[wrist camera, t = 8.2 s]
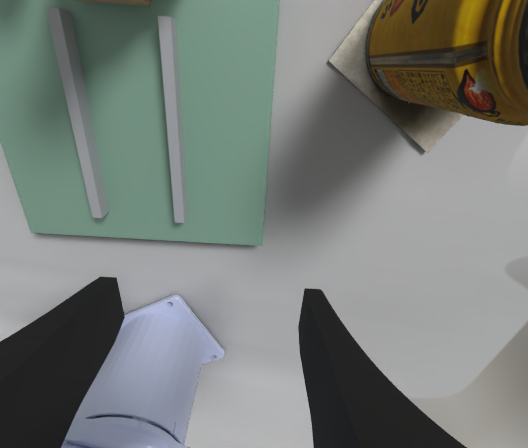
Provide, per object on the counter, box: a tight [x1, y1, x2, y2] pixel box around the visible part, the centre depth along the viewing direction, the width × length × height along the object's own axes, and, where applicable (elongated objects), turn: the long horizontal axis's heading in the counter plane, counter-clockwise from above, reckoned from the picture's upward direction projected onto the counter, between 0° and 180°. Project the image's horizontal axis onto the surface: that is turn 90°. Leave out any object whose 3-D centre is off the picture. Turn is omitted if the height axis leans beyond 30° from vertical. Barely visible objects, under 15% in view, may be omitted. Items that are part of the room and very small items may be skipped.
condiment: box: [329, 0, 528, 153], centre depth 12 cm, size 7×8×12 cm
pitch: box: [0, 0, 280, 246], centre depth 16 cm, size 24×16×2 cm, turn 176°
